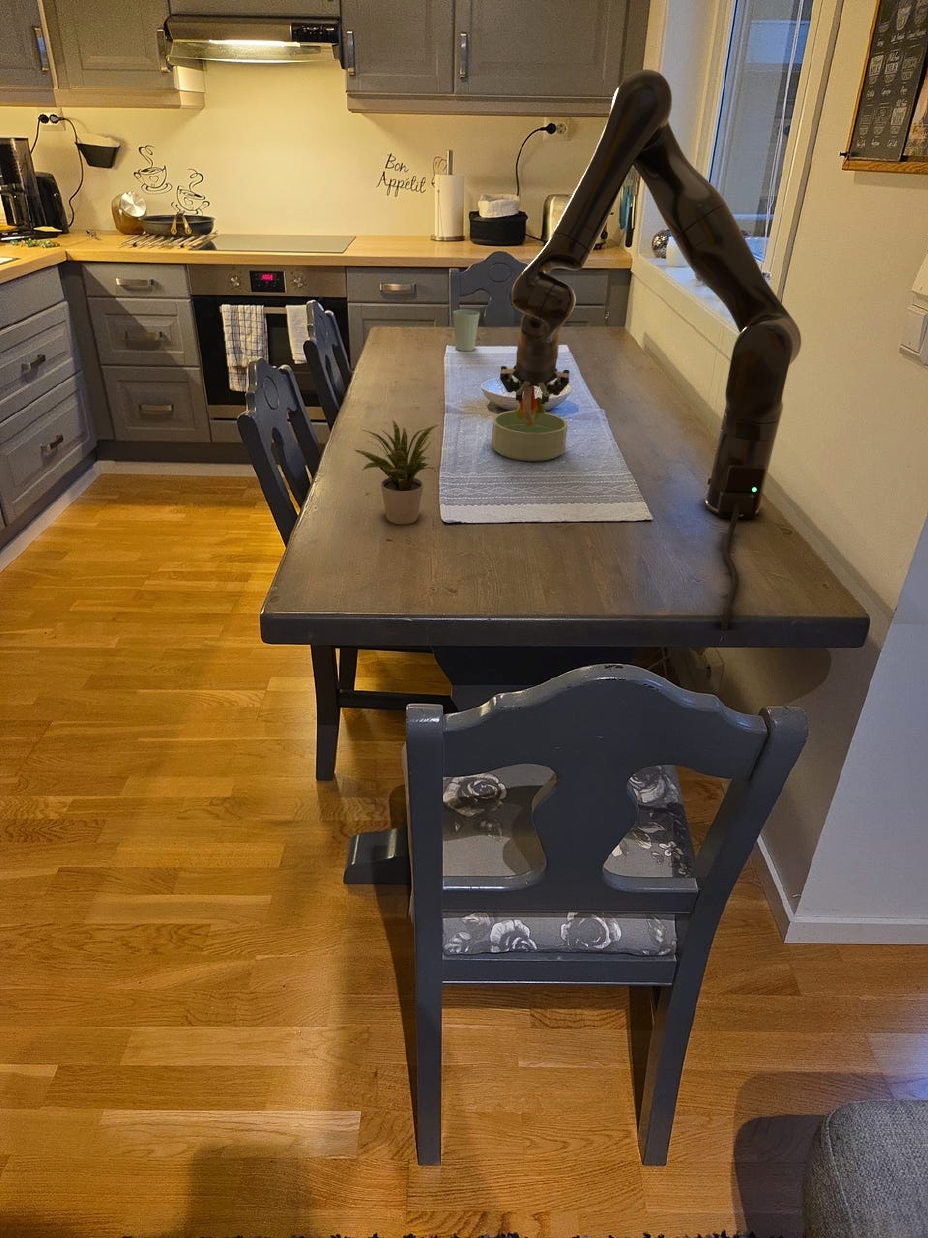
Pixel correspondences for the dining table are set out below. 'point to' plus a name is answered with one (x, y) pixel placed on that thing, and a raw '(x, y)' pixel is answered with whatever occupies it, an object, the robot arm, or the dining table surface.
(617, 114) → the robot arm
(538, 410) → the bird rattle
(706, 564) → the dining table surface
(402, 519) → the house plant
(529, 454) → the bowl
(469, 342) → the cup
